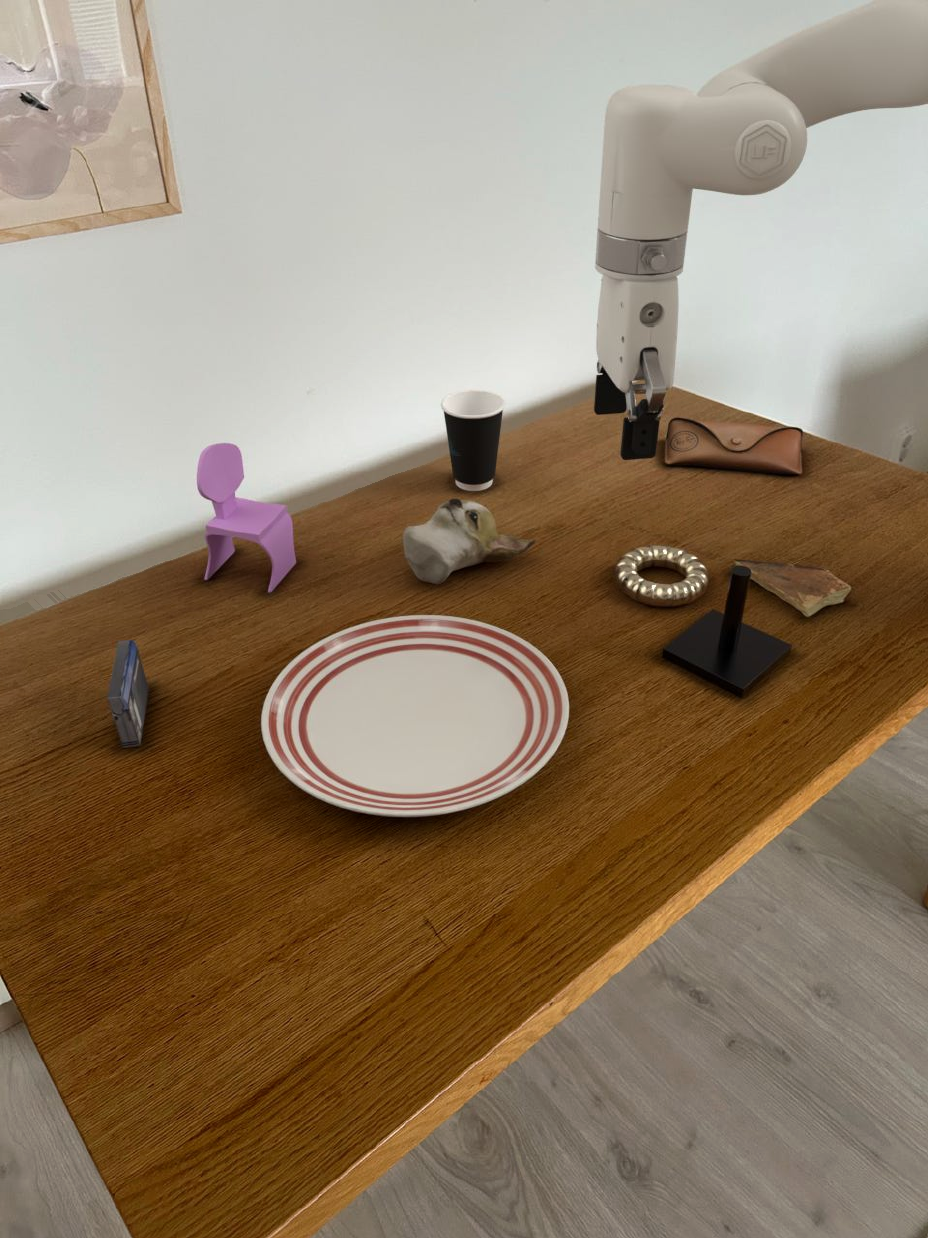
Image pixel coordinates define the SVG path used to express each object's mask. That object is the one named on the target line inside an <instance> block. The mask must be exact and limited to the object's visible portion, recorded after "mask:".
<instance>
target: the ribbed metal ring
mask: <svg viewBox="0 0 928 1238" xmlns="http://www.w3.org/2000/svg"><path fill="white" fill-rule="evenodd" d="M652 567H653V568H665V569H666V568H667V569H669V570H670V569H671V570H672V571H673V570H674V571H677V572H679V573H680V574H681V575H683V576H684V578H685V579H683V580H682V581H679V582H673V583H657V582H653V581H650V580H647V579H644V578H643V577H642V576H641V575H639V571H641V570H644V569H649V568H652ZM613 573H614V574H613V576H614V579H615V581H616V584H617V586H618V588H619V589H620V591H621V592H622V593H624V594H626V595H627V596H628V597H629V598H631V599H632V600H634V601H635V602H639V603H642V604H645V605H648V606H652V607H663V608H664V607H665V608H666V607H667V608H675V607H679V606H683V605H687V604H690V603H693V602H695V600H697V599H698V598H700V597H701V596H703V595H704V594H705V593H706V592H707V589H708V584H709V580H710V573H709V571H708V569H707V567H706V566H705V563H704V562H703V561H702V560H701V559H700V558H699V557H697V556H696V555H694V554H692V553H691V552H689V551H688V550H686V549H683V548H682V549H681V548H678V547H675V546H671V545H660V544H657V545H656V544H649V545H644V546H640V547H635V548H633V549H630V550H629V551H628V552H626V553H624V554H623V555H622V556H621V557H619V559H618V561H617V563H616V566H615V569H614V571H613Z"/></svg>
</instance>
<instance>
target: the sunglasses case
mask: <svg viewBox="0 0 928 1238" xmlns="http://www.w3.org/2000/svg"><path fill="white" fill-rule="evenodd" d="M803 435H804V431H803V429H802V428H800V427H797V426H769V425H760V424H751V423H741V422H728V421H727V422H726V421H716V420H715V421H714V420H713V421H711V420H697V419H693V418H687V417H673V418H671V419H670V420H669V421H668V423H667V431H666V437H665V441H664V463H665V464H666V465H669V466H693V467H694V466H695V467H703V468H711V469H723V470H734V471H742V472H750V473H761V474H777V475H799V476H800V475H802V474H803V473H804V471H803V467H802V466H803V465H802V464H803V463H802V461H803V459H802V458H803V457H802V442H803Z"/></svg>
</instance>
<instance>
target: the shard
mask: <svg viewBox="0 0 928 1238" xmlns="http://www.w3.org/2000/svg"><path fill="white" fill-rule="evenodd" d="M733 562H734V564H735V566H737V565H742V566H746V567H748V568H750V569H751V578H750V580H752V581H754V582H755V583H756V584H758V585H759V586H761V587H763V588H764V589H765V590H767V591H768V592H771V593H772V594H775V595H776V596H777V597H779V599H781V600H782V601H784V602H786V603H788V604H790V605H791V606H792V607H794V608H795V609H796V610H798V611H799V612H801V613H802V615H803V616H804V617H806V618H809V617H811V616H813V615H814V614H816V613H817V612H819V611H820V610H821V609H823V608H825V607H826V606H833V605H837V604H842V603H844V602H845V598H847V595H848V594H849V593H850V592H851V590H852V586H851V585H849V584H848V583H847V582H844V581H843V580H841V579H839V578H838V577H837V576H836V575H834V574H833V573H832V572H830V570H829V568H825V567H821V566H820V567H819V566H814V565H813V566H812V565H801V564H797V563H787V562H778V561H776V562H775V561H761V560H759V561H757V560H756V561H755V560H746V559H738V558H733Z"/></svg>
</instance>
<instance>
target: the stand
mask: <svg viewBox="0 0 928 1238" xmlns="http://www.w3.org/2000/svg"><path fill="white" fill-rule="evenodd" d="M750 578H751V569H750V568H748V567H746V566H742V565H737V566H736V565H734V566H732V568H731V571H730V576H729V581H728V587H727V593H726V600H725V605H724V610H723V612H721V611H720V610H717V609H714V608H713V609H711V610H710V611H709V612H708V613H706V614H705V615H704V616H702V617H701V618H700V619H698V620H697V621H696V622H694V623H693V624H692V625H690V627H688V628H687V629H686V630H685V631H683V632H682V633H680V635H678V636H677V637H675V638H674V639H673V640H672V641H670V642H669V643H668V644H666V645H665V646H664V647H663V648H662V653H661V658H662V659H664V660H666V661H668V662H670V663H671V664H674V665H676V666H678V667H680V668H682V669H683V670H685V671H687V672H690V673H691V674H693V675H695V676H697V677H699V678H701V679H704V680H705V681H707V682H709V683H710V684H713V685H714V686H717V687H719V688H720V689H722V690H724V691H726V692H728V693H730V694H732V695H734V696H736V697H738V698H740V699H743V698H744V697H745V696H746V695H747V694H748V693H749V692H750V691H751V690H752V689H754V688H755V687H756V686H757V685H758V684H759V683H760V682H762V680H764V679H765V678H766V677H767V676H768V675H769V674H770V673H771V672H772V671H773V670H775V669H776V668H777V667H778V666H779V665H780V664H782V663H783V661H784V660H786V659H787V658H788V657H789V656H790V655H791V651H792V648H793V647H792V646H793V645H792V644H790V643H788V642H786V641H783V640H782V639H779V638H777V637H775V636H773V635H771V634H769V633H766V632H764V631H762V630H760V629H758V628H755V627H754V626H752V625H749V624H747V623H745V622H743V618H744V614H745V608H746V603H747V599H748V592H749V589H750V582H751V579H750Z"/></svg>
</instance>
